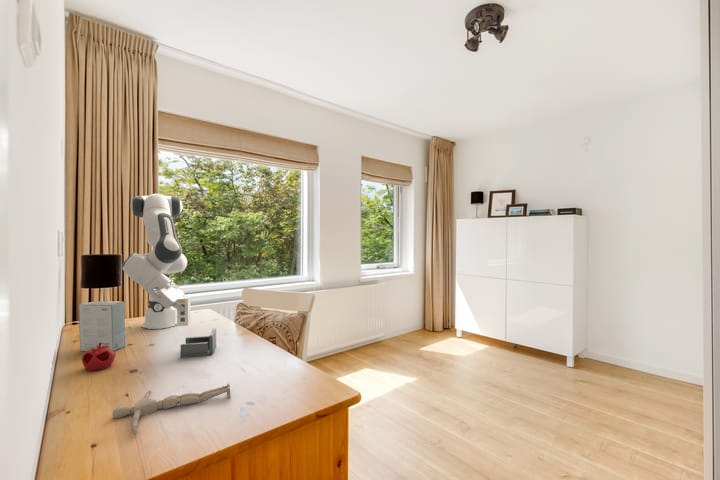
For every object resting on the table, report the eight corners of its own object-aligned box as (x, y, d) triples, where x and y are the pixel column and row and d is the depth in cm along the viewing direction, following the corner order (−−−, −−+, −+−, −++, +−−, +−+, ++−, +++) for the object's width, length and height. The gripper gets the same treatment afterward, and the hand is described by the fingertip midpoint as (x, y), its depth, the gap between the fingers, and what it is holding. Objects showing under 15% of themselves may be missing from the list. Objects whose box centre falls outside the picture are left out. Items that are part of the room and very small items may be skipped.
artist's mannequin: (228, 381, 120) (124, 402, 108) (227, 369, 120) (123, 388, 108) (233, 418, 95) (98, 450, 83) (232, 402, 95) (97, 432, 82)
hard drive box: (126, 346, 155) (125, 301, 154) (112, 352, 147) (111, 305, 147) (94, 345, 156) (93, 300, 156) (78, 351, 149) (77, 304, 148)
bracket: (186, 348, 151) (186, 330, 151) (216, 346, 154) (216, 328, 154) (180, 357, 140) (180, 337, 140) (212, 354, 143) (212, 335, 143)
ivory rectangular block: (180, 323, 147) (180, 296, 147) (190, 322, 148) (190, 296, 148) (177, 326, 142) (176, 299, 142) (188, 325, 143) (187, 298, 143)
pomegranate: (90, 364, 134) (89, 340, 134) (120, 361, 137) (119, 337, 137) (76, 374, 125) (75, 348, 125) (108, 370, 127) (108, 345, 127)
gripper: (157, 284, 133) (185, 308, 135) (171, 277, 153) (196, 298, 155) (144, 296, 132) (173, 320, 134) (160, 288, 152) (185, 309, 154)
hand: (185, 308), depth 145 cm, fingers closed on ivory rectangular block, 5 cm apart
